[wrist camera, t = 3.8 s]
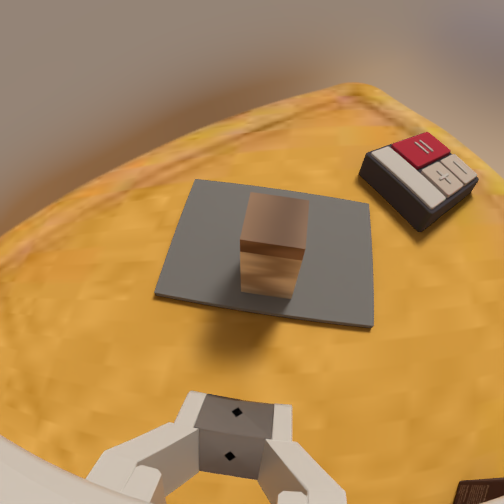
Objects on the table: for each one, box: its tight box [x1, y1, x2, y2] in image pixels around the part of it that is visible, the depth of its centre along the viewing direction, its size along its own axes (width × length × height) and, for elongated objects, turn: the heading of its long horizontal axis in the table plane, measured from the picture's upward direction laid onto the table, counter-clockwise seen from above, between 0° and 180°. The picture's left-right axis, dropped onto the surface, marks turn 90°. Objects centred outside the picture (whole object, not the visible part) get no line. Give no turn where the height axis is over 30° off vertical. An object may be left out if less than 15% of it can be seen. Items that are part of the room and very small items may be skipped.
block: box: [240, 192, 309, 299], centre depth 27 cm, size 4×4×8 cm
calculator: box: [359, 132, 479, 232], centre depth 37 cm, size 11×4×15 cm
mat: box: [154, 179, 374, 328], centre depth 32 cm, size 20×15×1 cm
